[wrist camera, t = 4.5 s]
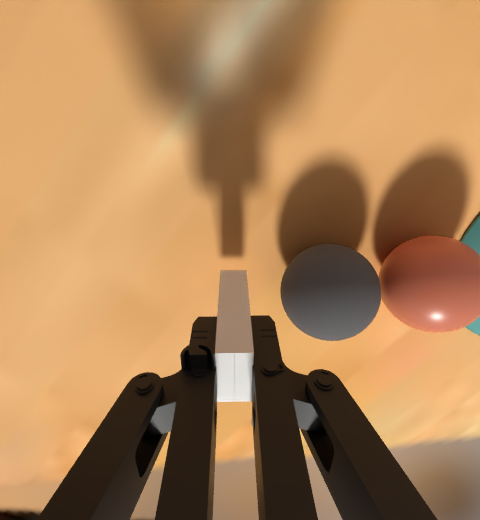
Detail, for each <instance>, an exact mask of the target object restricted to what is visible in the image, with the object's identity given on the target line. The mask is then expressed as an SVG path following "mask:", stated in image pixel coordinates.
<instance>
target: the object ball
mask: <svg viewBox="0 0 480 520" xmlns="http://www.w3.org/2000/svg"><path fill="white" fill-rule="evenodd" d="M379 282H380V286H381V298H382V300H383V302H384V304H385V306H386V307H387V309H388V310H389V311H390V312H391V313H392V314H393V315H394V316H395V317H396V318H397V319H398V320H400V321H401V322H403V323H404V324H406V325H408V326H410V327H412V328H415V329H418V330H422V331H426V332H450V331H454V330H458V329H460V328H463V327H465V326H467V325H469V324H471V323H472V322H474V321H475V320H476V319H478V318H479V317H480V255H479V254H478V253H477V252H476V251H475V250H474V249H473V248H471V247H470V246H468V245H467V244H465V243H463V242H461V241H459V240H456V239H453V238H449V237H444V236H433V235H432V236H422V237H417V238H414V239H411V240H408V241H406V242H404V243H402V244H400V245H399V246H398V247H396V248H395V249H394V250H393V251H392V252H391V253H390V254H389V255H388V256H387V257H386V259H385V261H384V262H383V264H382V267H381V269H380V272H379Z"/></svg>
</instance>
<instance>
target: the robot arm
mask: <svg viewBox="0 0 480 520" xmlns="http://www.w3.org/2000/svg"><path fill="white" fill-rule="evenodd" d="M180 356H181V366H182V369H181V370H180V371H179V372H177V373H176V374H173V375H171V376H168V377H164V378H160V377H159V375H157V374H155V373H148V372H146V373H142V374H139V375H137V376H135V377H134V378H132V379H131V380H130V382H129V383H128V384H127V385H126V387H125V388H124V390H123V391H122V393H121V394H120V396H119V397H118V399H117V400H116V402H115V403H114V405H113V406H112V408H111V409H110V411H109V412H108V414H107V415H106V417H105V418H104V420H103V421H102V423H101V424H100V426H99V427H98V429H97V430H96V432H95V433H94V435H93V436H92V438H91V439H90V441H89V442H88V444H87V445H86V447H85V448H84V450H83V451H82V453H81V454H80V456H79V457H78V459H77V460H76V462H75V463H74V465H73V466H72V468H71V469H70V471H69V472H68V474H67V475H66V477H65V478H64V480H63V481H62V483H61V484H60V486H59V487H58V489H57V490H56V492H55V493H54V495H53V496H52V498H51V499H50V501H49V502H48V504H47V505H46V507H45V508H44V510H43V511H42V513H41V514H40V516H39V517H38V519H37V520H130V518H131V515H132V513H133V511H134V509H135V506H136V504H137V502H138V499H139V497H140V495H141V493H142V491H143V488H144V486H145V484H146V482H147V479H148V477H149V475H150V473H151V470H152V468H153V466H154V464H155V461H156V459H157V457H158V455H159V452H160V450H161V448H162V446H163V443H164V441H165V439H166V437H167V434H168V432H169V431H171V434H170V439H169V445H168V450H167V456H166V461H165V467H164V472H163V478H162V484H161V489H160V495H159V500H158V506H157V511H156V517H155V520H212V518H213V495H214V472H215V448H216V425H217V402H238V401H252V425H253V436H254V451H255V467H256V482H257V498H258V513H259V520H318V518H317V513H316V508H315V503H314V499H313V494H312V489H311V484H310V479H309V474H308V469H307V465H306V460H305V455H304V450H303V445H302V440H301V435H300V431H299V428H300V429H301V432H302V434H303V436H304V438H305V440H306V442H307V444H308V447H309V449H310V451H311V453H312V455H313V457H314V459H315V461H316V464H317V466H318V468H319V470H320V472H321V474H322V476H323V478H324V481H325V483H326V485H327V487H328V489H329V491H330V493H331V496H332V498H333V500H334V502H335V504H336V506H337V508H338V510H339V513H340V515H341V517H342V519H343V520H437V518H436V517H435V515H434V514H433V513H432V511H431V510H430V508H429V507H428V505H427V504H426V503H425V501H424V500H423V498H422V497H421V495H420V494H419V492H418V491H417V490H416V488H415V487H414V485H413V484H412V482H411V481H410V480H409V478H408V477H407V475H406V474H405V472H404V471H403V470H402V468H401V467H400V465H399V464H398V462H397V461H396V460H395V458H394V457H393V455H392V454H391V452H390V451H389V449H388V448H387V447H386V445H385V444H384V442H383V441H382V439H381V438H380V436H379V435H378V434H377V432H376V431H375V429H374V428H373V426H372V425H371V424H370V422H369V421H368V419H367V418H366V416H365V415H364V414H363V412H362V411H361V409H360V408H359V406H358V405H357V403H356V402H355V401H354V399H353V398H352V396H351V395H350V393H349V392H348V391H347V389H346V388H345V386H344V385H343V383H342V382H341V381H340V379H339V378H338V377H337V376H336V375H335V374H333V373H332V372H330V371H327V370H323V369H319V370H314V371H311V372H310V373H309V374H308V376H307V375H303V374H299V373H296V372H293V371H292V370H290V369H289V368H287V367H286V366H285V364H284V363H283V361H282V357H281V352H280V347H279V342H278V337H277V332H276V327H275V322H274V321H273V320H272V318H271V317H270V316H251V315H250V304H249V293H248V282H247V271H246V270H220V283H219V298H218V314H217V317H198V318H197V319H196V320H195V322H194V323H193V327H192V333H191V339H190V344H189V346H187V347H186V348H184V349H183V350H182V352H181V355H180Z"/></svg>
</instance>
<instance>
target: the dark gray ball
mask: <svg viewBox="0 0 480 520" xmlns="http://www.w3.org/2000/svg"><path fill="white" fill-rule="evenodd" d="M281 300H282V304H283V307H284V310H285V312H286V314H287V316H288V317H289V319H290V320H291V321H292V322H293V324H294V325H295V326H296V327H297V328H299V329H300V330H301V331H302V332H304V333H306V334H307V335H309V336H312V337H314V338H317V339H321V340H327V341H338V340H343V339H347V338H350V337H353V336H355V335H357V334H358V333H360V332H361V331H363V330H364V329H365V328H367V326H368V325H369V324H370V323H371V322H372V320H373V319H374V318H375V316H376V314H377V312H378V309H379V306H380V301H381V286H380V282H379V278H378V275H377V273H376V271H375V270H374V268H373V266H372V265H371V264H370V262H369V261H368V260H367V259H366V258H365V257H364V256H362V255H361V254H360V253H358V252H357V251H355V250H353V249H351V248H349V247H346V246H343V245H338V244H321V245H316V246H313V247H310V248H308V249H306V250H304V251H302V252H301V253H299V254H298V255H297V256H296V257H295V258H294V259H293V260H292V261H291V262H290V264H289V265H288V267H287V268H286V270H285V272H284V275H283V278H282V282H281Z"/></svg>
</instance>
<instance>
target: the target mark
mask: <svg viewBox="0 0 480 520" xmlns="http://www.w3.org/2000/svg"><path fill="white" fill-rule="evenodd" d="M461 242H463V243H465V244H467V245H468V246H470V247H471V248H473V249H474V250H475V251H476V252H477V253H478V254H479V255H480V215H479V216H478V217H477V218H476V219H475V220H474V222H473V223H472V224H471V226H470V227H469V228H468V230H467V231H466V233H465V234H464V236H463V237H462V239H461ZM465 327H466V328H468V329H469V330H471V331H472V332H474V333H476V334H478V335H480V317H479V318H478V319H476V320H475V321H474V322H472V323H471V324H469V325H467V326H465Z"/></svg>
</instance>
